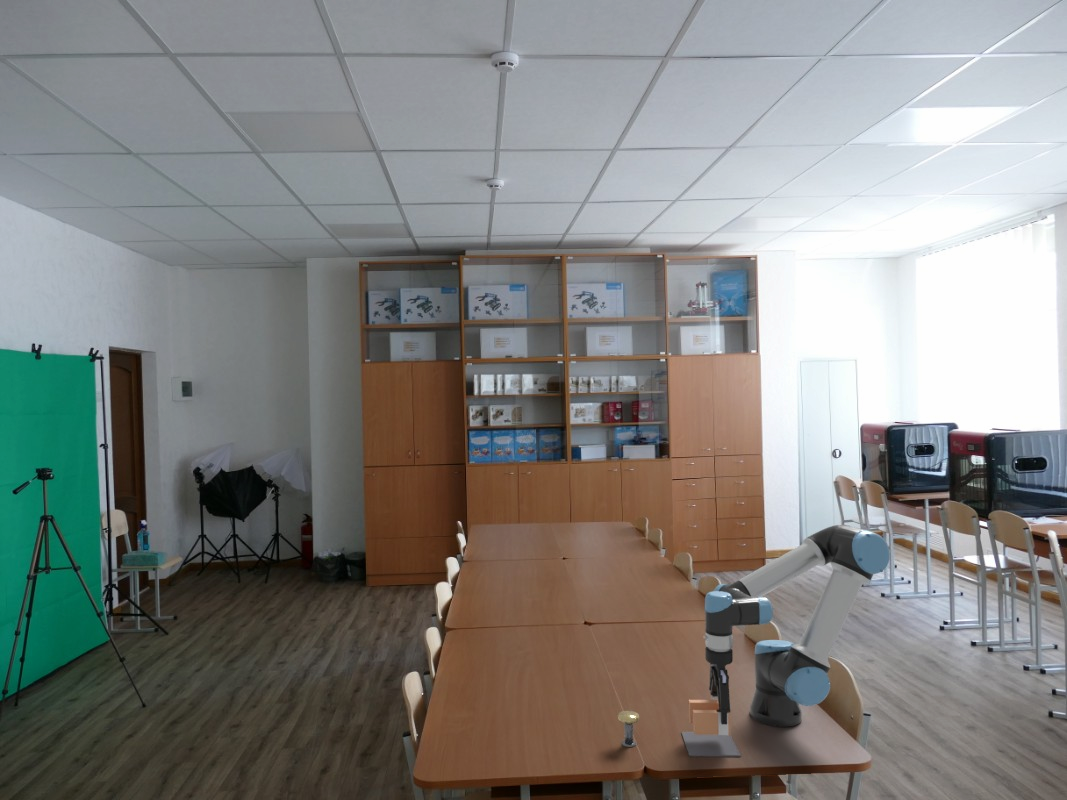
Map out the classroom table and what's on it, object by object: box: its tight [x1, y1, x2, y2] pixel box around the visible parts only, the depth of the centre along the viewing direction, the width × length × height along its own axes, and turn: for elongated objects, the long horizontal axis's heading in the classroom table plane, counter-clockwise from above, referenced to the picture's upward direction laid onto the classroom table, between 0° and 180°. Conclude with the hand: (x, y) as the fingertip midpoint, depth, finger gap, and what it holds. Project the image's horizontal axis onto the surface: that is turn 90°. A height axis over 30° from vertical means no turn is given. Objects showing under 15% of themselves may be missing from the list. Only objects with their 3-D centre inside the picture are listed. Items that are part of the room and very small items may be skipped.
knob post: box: [617, 710, 640, 748], centre depth 205 cm, size 6×6×8 cm
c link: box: [688, 699, 732, 736], centre depth 204 cm, size 10×9×6 cm
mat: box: [680, 731, 742, 758], centre depth 204 cm, size 14×14×1 cm
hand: (719, 726), depth 203 cm, fingers closed on c link, 9 cm apart
